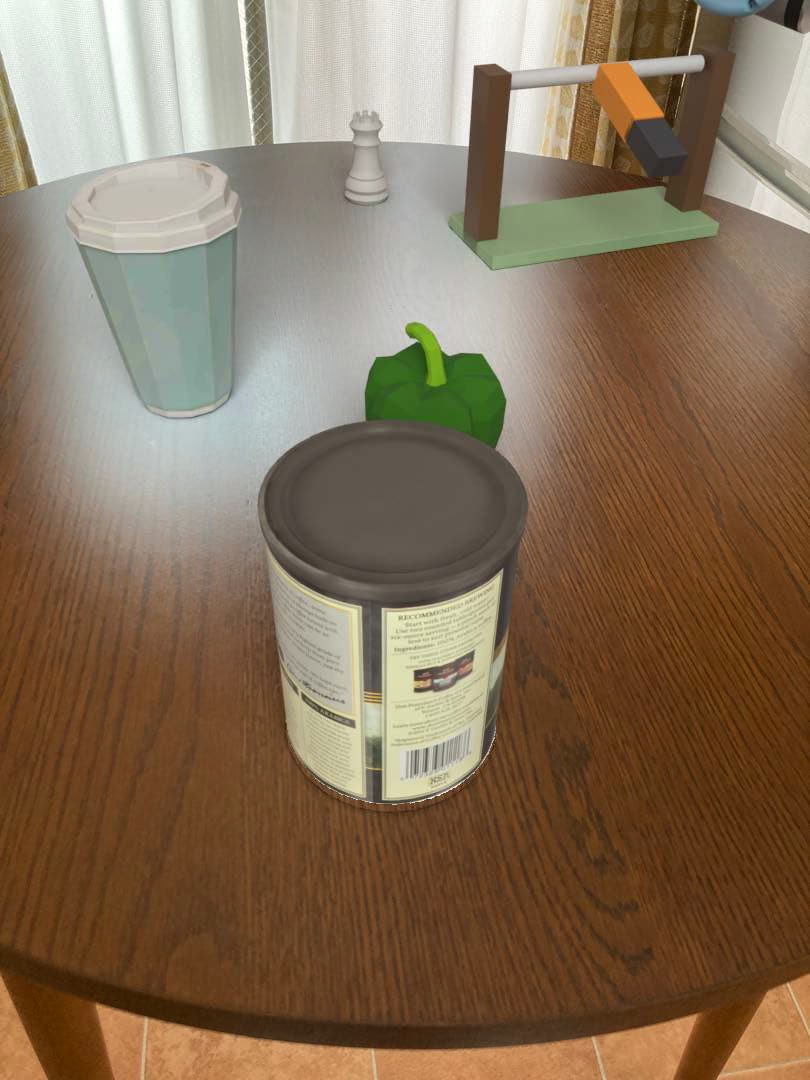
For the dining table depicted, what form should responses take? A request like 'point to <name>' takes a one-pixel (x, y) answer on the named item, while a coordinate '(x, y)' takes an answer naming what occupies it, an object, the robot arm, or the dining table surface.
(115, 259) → the disposable coffee cup
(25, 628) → the dining table surface
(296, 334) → the dining table surface
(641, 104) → the foosball rod
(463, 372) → the bell pepper
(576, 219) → the foosball stand
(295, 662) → the coffee can
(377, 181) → the rook chess piece
